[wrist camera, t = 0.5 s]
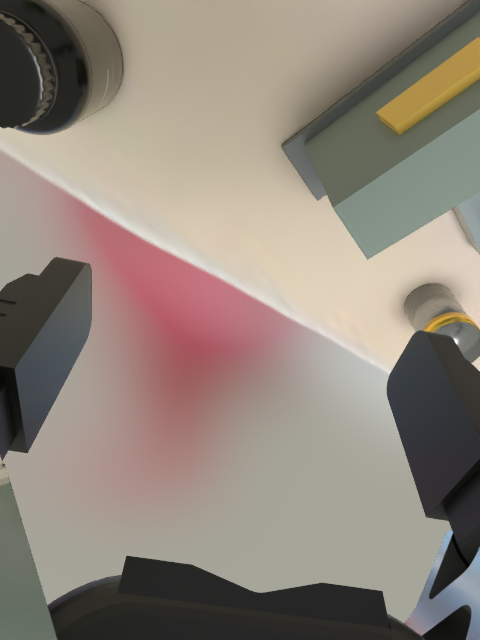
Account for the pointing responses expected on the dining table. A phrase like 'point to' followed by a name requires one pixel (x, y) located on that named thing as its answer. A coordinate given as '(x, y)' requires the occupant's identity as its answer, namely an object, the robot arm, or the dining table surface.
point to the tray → (470, 219)
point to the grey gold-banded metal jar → (443, 317)
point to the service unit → (401, 138)
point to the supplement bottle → (54, 64)
